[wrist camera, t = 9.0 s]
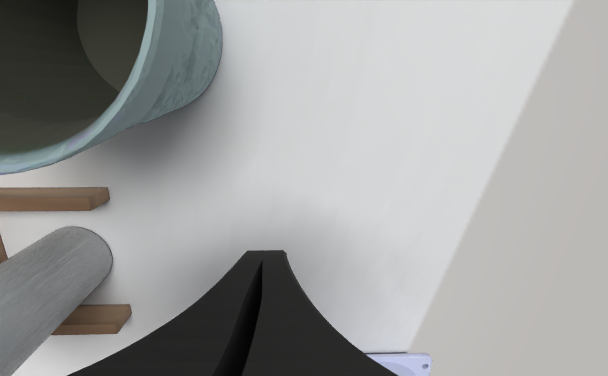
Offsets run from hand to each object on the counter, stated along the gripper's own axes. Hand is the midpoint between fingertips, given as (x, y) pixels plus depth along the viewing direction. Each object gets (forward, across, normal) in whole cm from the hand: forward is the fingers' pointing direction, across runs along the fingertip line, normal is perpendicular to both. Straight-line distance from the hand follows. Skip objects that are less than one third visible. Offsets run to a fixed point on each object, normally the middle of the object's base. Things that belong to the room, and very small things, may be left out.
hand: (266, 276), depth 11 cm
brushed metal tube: (+11, +14, +5) cm, 18 cm away
